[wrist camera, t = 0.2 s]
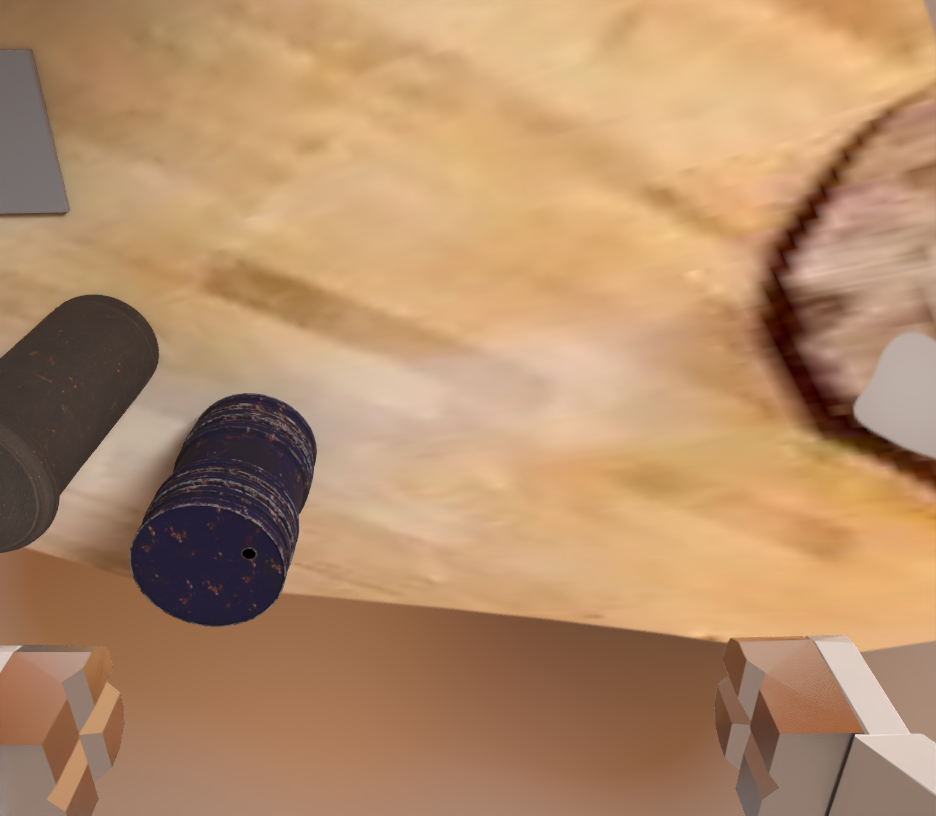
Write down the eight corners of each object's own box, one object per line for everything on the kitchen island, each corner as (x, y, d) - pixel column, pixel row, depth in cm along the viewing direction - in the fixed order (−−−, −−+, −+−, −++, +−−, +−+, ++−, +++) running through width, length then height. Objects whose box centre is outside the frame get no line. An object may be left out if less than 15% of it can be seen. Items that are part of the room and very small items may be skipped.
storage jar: (229, 515, 67) (178, 645, 54) (167, 417, 63) (95, 534, 49) (339, 476, 66) (314, 600, 52) (283, 374, 61) (241, 481, 48)
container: (21, 361, 60) (-153, 519, 42) (70, 264, 57) (-96, 391, 39) (131, 419, 63) (10, 591, 45) (183, 330, 59) (76, 476, 42)
